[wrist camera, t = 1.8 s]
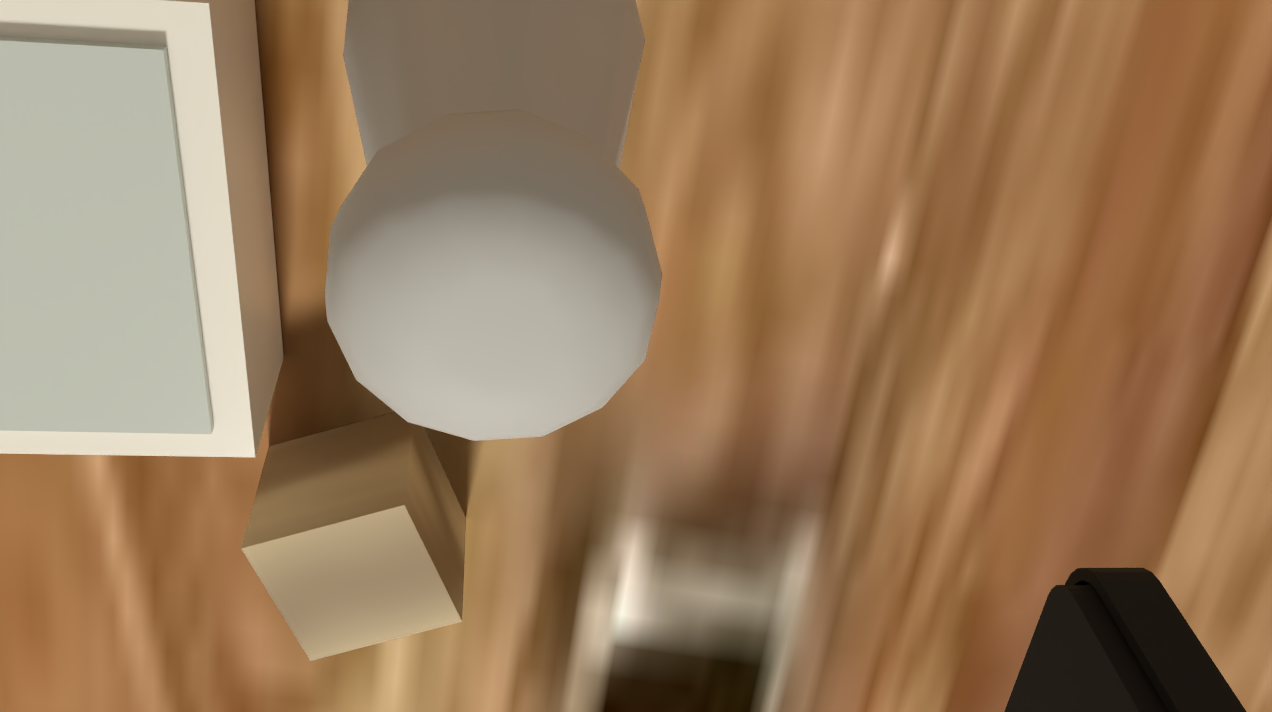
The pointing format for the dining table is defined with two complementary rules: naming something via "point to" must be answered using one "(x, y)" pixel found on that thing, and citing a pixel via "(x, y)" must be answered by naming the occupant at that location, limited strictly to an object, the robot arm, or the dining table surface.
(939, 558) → the dining table surface
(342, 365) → the dining table surface
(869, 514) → the dining table surface
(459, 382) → the salt shaker
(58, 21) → the base block
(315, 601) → the tan block
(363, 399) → the dining table surface
